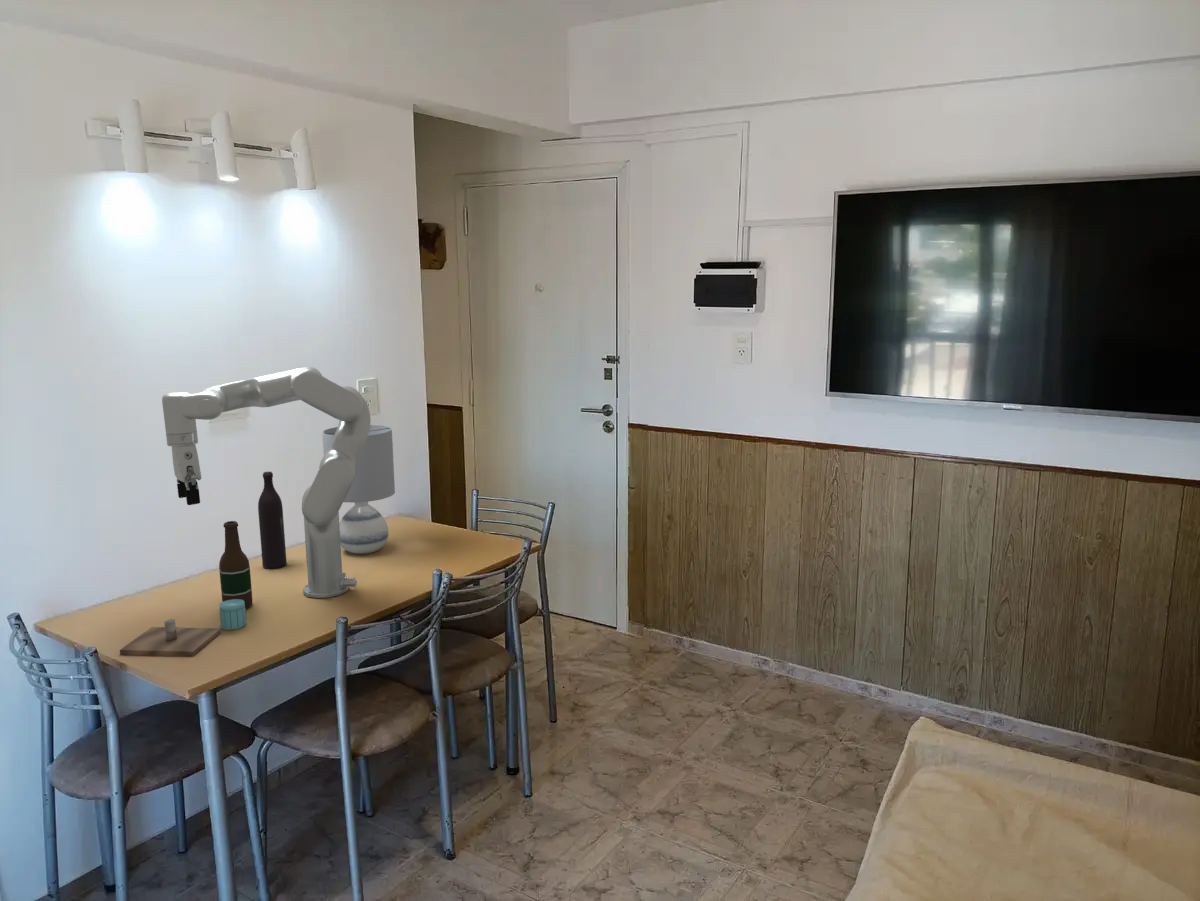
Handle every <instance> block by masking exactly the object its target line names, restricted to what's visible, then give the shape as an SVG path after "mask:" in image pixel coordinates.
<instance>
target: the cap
mask: <svg viewBox="0 0 1200 901" xmlns="http://www.w3.org/2000/svg"><path fill="white" fill-rule="evenodd" d="M218 606H219V615H220V616H219V617H220V626H221V629H222V630H229V631H231V630H238V629H241V628H244V627H245V626H246V625H247V614H246V609H245V602H244V600H241V599H232V600H227V601H224V602H220V603H219V604H218Z"/></svg>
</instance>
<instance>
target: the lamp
mask: <svg viewBox="0 0 1200 901" xmlns="http://www.w3.org/2000/svg"><path fill="white" fill-rule="evenodd" d="M337 428H338V426H333V427H329V428H325V429H324V430H322V435H321V436H322V448H323V449H322V450H323V456H324V455H325V453H326V452H327V450H328V448H329V446H330V444H331V442H332V440H333V437H334V435H335V433H336V430H337ZM394 466H395V465H394V445H393V429H392V427H391V426H387V425H384V424H383V425H382V424H370V430H369V434H368V437H367V439H366V441H365V444H364V446H363V448H362V451H361V453H360V455H359V457H358V459H357V462H356V464H355V477H354V480H353V483H352V485H351V487H350V489H349V491H348V493H347V495H346V497H345V499H344V501H343V503H351V504H352V503H354V505H353V506H352V507H351V508H349V509H348V510H347V512H345V514H344V515H343V517H342V518H341V519H340V520H339V525H340V545H341V549H343V550H345V551H347V552H348V553H350V554H353V555H356V554H357V555H365V554H366V555H368V554H371V553H376V552H377V551H379V550H381V549H382V548H383V547H384V546H385V544H386V543H388V539H389V534H390V533H389V527H388V524H387V521H386V518H385V517H384V516H383V514H381V512H379V510H377V509H376V508H375V507H373V506H371V505H370V504H369V502H375V501H381V500H384V499H387V498H390V497H392V496H394V495H395V492H396V490H395V489H396V488H395V486H396V485H395V467H394Z"/></svg>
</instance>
